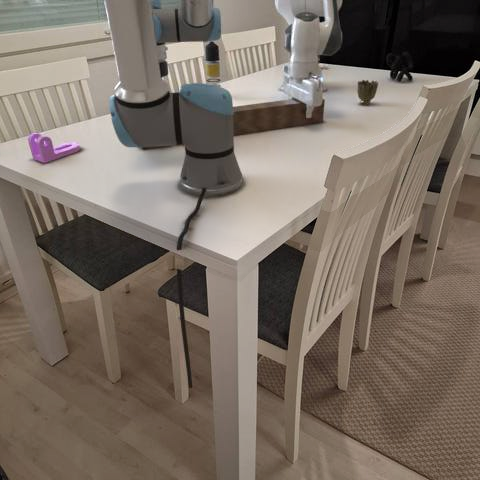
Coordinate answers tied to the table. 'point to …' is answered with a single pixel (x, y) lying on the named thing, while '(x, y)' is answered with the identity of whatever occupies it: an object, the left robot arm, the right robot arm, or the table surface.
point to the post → (272, 116)
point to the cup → (366, 91)
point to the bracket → (49, 148)
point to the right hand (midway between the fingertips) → (301, 113)
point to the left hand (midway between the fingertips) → (162, 141)
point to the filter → (212, 62)
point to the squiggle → (399, 66)
